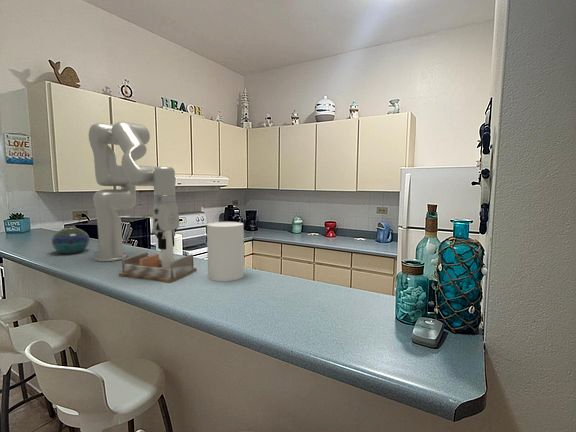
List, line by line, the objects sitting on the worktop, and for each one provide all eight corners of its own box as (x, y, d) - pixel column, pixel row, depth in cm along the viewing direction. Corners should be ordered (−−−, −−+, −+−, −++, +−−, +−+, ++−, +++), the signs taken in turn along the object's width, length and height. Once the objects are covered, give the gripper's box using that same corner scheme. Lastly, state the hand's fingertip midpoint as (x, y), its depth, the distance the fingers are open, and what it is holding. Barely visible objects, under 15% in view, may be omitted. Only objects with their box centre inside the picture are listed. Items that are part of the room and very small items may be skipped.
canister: (236, 282, 114) (235, 227, 111) (201, 279, 116) (200, 225, 114) (248, 271, 127) (248, 222, 124) (217, 269, 129) (216, 221, 127)
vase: (93, 252, 156) (91, 226, 155) (55, 257, 146) (53, 229, 144) (86, 247, 167) (84, 222, 166) (50, 252, 157) (48, 225, 155)
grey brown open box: (118, 276, 119) (118, 258, 118) (149, 265, 134) (148, 249, 134) (170, 282, 112) (169, 263, 112) (196, 270, 128) (195, 253, 127)
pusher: (139, 272, 120) (139, 259, 120) (156, 265, 129) (156, 253, 129) (142, 272, 120) (141, 259, 119) (159, 266, 129) (158, 254, 128)
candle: (181, 267, 126) (176, 205, 122) (173, 274, 119) (168, 208, 115) (164, 267, 127) (159, 205, 122) (155, 273, 120) (149, 208, 115)
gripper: (157, 201, 110) (159, 253, 112) (186, 199, 126) (187, 244, 128) (140, 200, 112) (142, 251, 114) (170, 198, 128) (172, 242, 130)
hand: (166, 247), depth 121 cm, fingers open, 4 cm apart
